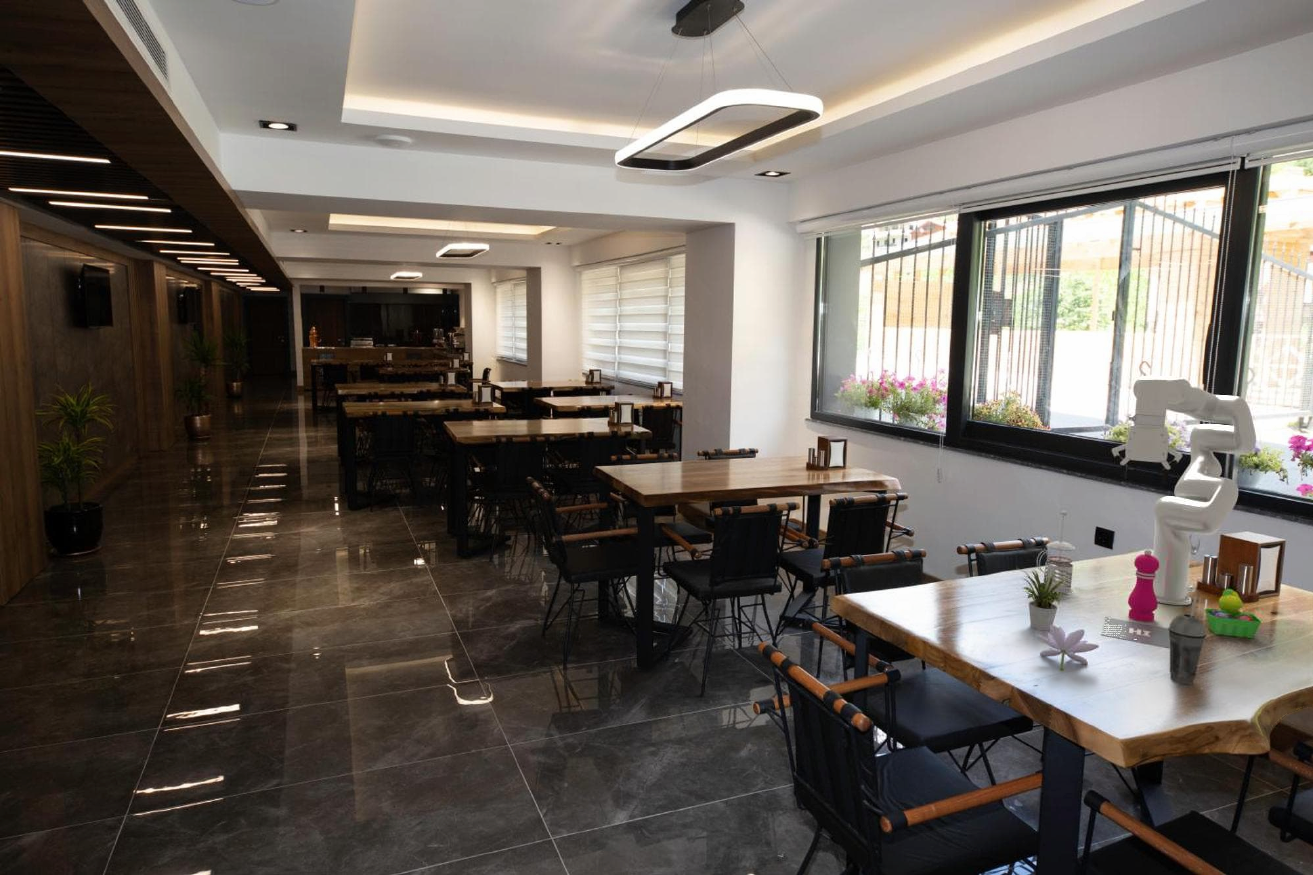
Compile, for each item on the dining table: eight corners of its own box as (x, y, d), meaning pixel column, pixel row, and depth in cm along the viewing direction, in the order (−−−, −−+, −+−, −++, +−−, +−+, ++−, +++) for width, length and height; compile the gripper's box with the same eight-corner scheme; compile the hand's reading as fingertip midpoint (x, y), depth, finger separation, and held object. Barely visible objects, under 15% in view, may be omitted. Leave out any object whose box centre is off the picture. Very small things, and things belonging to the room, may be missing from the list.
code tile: (1101, 634, 214) (1101, 634, 214) (1105, 617, 229) (1105, 616, 229) (1177, 649, 205) (1177, 648, 205) (1176, 630, 220) (1177, 629, 220)
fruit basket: (1210, 634, 217) (1214, 594, 216) (1200, 624, 225) (1205, 584, 224) (1260, 641, 213) (1265, 599, 212) (1249, 630, 221) (1253, 590, 220)
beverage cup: (1155, 673, 189) (1164, 591, 187) (1184, 673, 190) (1194, 591, 188) (1178, 687, 182) (1187, 601, 180) (1208, 686, 183) (1218, 601, 180)
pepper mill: (1148, 614, 232) (1155, 546, 230) (1161, 623, 225) (1168, 553, 222) (1121, 613, 233) (1128, 545, 230) (1134, 621, 226) (1141, 552, 223)
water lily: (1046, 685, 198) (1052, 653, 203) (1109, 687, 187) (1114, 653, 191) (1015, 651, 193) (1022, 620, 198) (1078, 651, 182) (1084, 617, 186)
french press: (1080, 594, 250) (1088, 515, 247) (1042, 593, 250) (1049, 514, 247) (1065, 584, 259) (1072, 508, 256) (1028, 583, 259) (1035, 507, 256)
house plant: (999, 625, 220) (1004, 567, 218) (1017, 613, 230) (1022, 558, 228) (1055, 639, 210) (1060, 579, 208) (1071, 626, 220) (1076, 568, 218)
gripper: (1113, 419, 231) (1108, 478, 233) (1185, 424, 222) (1179, 486, 224) (1115, 418, 237) (1110, 475, 239) (1185, 422, 228) (1179, 482, 230)
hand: (1143, 480), depth 231 cm, fingers open, 9 cm apart
